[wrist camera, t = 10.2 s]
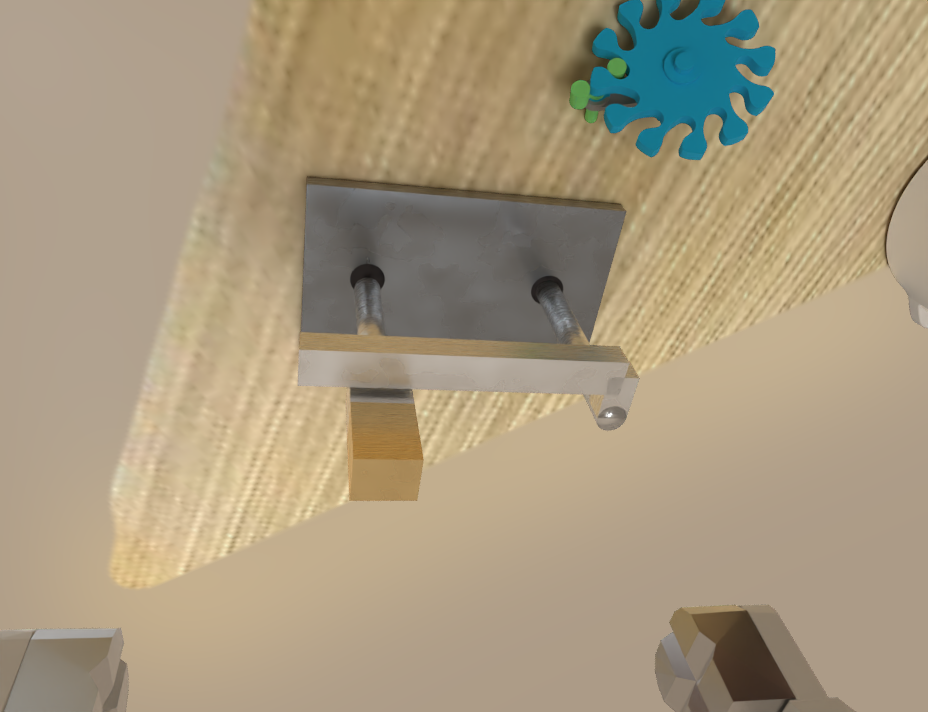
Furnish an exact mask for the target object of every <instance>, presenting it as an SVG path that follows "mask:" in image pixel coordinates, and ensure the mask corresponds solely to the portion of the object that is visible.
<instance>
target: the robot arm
mask: <svg viewBox="0 0 928 712" xmlns="http://www.w3.org/2000/svg"><path fill="white" fill-rule="evenodd" d="M886 251H887V259H888V264H889V267H890V270H891V272H892V274H893V276H894V277H895V279H896V280H897V281H898V283H899V284H900V285H901V286H902V287H903V288H904V290H905V291H906V292H907V294H908V296H909V308H910V314H911V317H912V319H913V321H914V322H916V323H918V324H919V325H921V326H922V327H924V328H928V160H927V161H926V162H925V164H924V165H923V166H922V167H921V168H920V169H919V171H918V172H917V173H916V174H915V176H914V177H913V178H912V180H911V181H910V183H909V184H908V186H907V187H906V189H905V191H904V192H903V194H902V196H901V198H900V200H899V201H898V204H897V206H896V208H895V210H894V213H893V216H892V218H891V222H890V225H889V229H888V235H887V243H886ZM669 623H670V625H671V627H672V630H673V632H672V633H670V634H669V635H668V636H666V637H665V638H664V639H662V640H661V641H660V644H659V647H658V649H657V652H656V654H655V674H656V678H657V683H658V687H659V690H660V692H661V695H662V697H663V700H664V702H665V703H666V704H667V705H668V706H669V707H671V708H672V709H673V710H674V711H675V712H856V711H854V710H853V709H852V708H850V707H849V706H848V705H846V704H845V703H844V702H842V701H841V700H840V699H839V698H837V697H835V698H829V697H828V696H827V694H826V692H825V691H824V689H823V688H822V686H821V684H820V682H819V681H818V679H817V677H816V676H815V674H814V672H813V671H812V669H811V667H810V666H809V664H808V662H807V661H806V659H805V657H804V656H803V654H802V652H801V651H800V649H799V647H798V646H797V644H796V642H795V641H794V639H793V637H792V636H791V634H790V633H789V631H788V629H787V628H786V626H785V624H784V623H783V621H782V619H781V618H780V616H779V614H778V613H777V612H776V610H775V609H773V608H772V607H771V606H769V605H744V606H736V605H722V606H704V607H684V608H680V609H678V610H677V611H675V612H674V614H673V616H672V618H671V620H670V622H669ZM123 645H124V641H123V636H122V631H121V628H78V629H75V628H74V629H18V630H17V629H16V630H0V712H126V707H127V699H128V668H127V663H125V662H124V661H122V660H121V659H120V657H121V653H122V649H123Z"/></svg>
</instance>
